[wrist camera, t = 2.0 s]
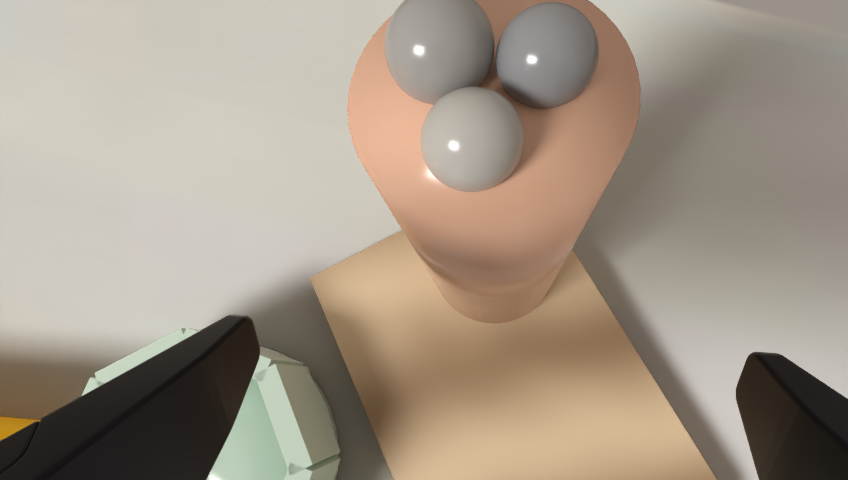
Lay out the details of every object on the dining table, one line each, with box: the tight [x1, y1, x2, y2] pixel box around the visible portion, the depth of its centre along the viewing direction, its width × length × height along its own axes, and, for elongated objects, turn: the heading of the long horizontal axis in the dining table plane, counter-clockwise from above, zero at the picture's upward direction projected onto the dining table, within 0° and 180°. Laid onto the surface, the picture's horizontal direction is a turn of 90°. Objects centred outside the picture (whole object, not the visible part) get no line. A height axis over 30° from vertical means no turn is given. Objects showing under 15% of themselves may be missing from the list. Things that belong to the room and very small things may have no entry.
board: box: [310, 230, 717, 480], centre depth 19 cm, size 14×10×1 cm
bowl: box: [82, 328, 341, 480], centre depth 18 cm, size 9×9×4 cm
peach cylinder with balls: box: [347, 0, 640, 323], centre depth 13 cm, size 5×5×13 cm
